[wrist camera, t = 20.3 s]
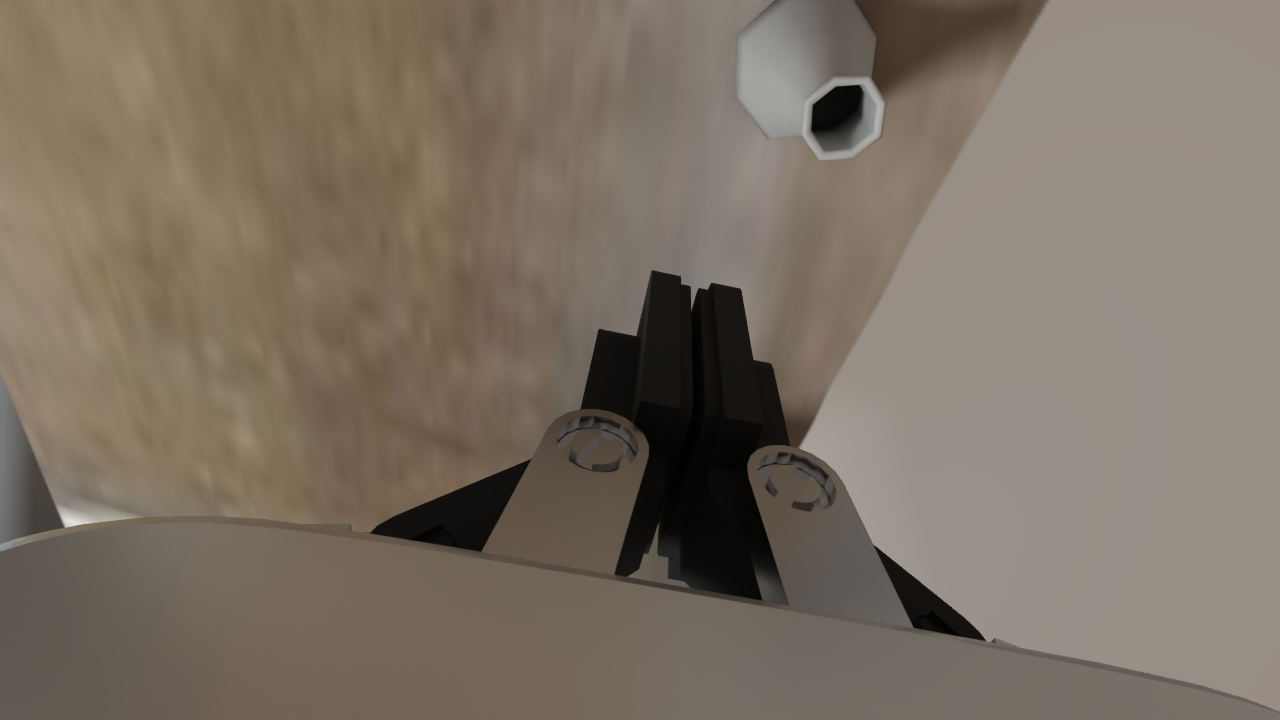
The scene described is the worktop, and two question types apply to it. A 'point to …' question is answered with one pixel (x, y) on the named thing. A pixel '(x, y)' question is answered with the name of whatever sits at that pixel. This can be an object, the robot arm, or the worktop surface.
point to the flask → (812, 76)
